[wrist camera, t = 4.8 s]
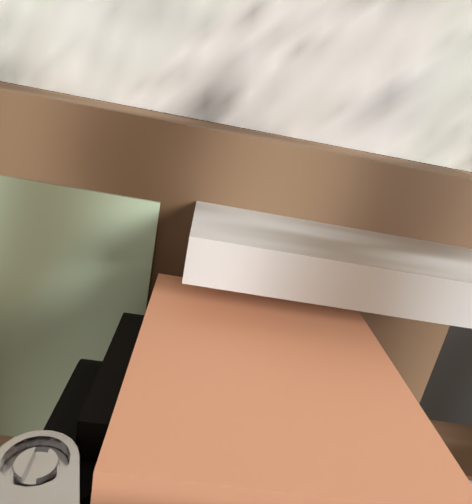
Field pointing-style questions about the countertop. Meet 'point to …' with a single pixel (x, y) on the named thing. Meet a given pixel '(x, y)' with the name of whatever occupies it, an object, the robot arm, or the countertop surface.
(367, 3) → the countertop surface
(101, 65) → the countertop surface
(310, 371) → the block
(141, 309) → the track
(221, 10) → the countertop surface
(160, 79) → the countertop surface
